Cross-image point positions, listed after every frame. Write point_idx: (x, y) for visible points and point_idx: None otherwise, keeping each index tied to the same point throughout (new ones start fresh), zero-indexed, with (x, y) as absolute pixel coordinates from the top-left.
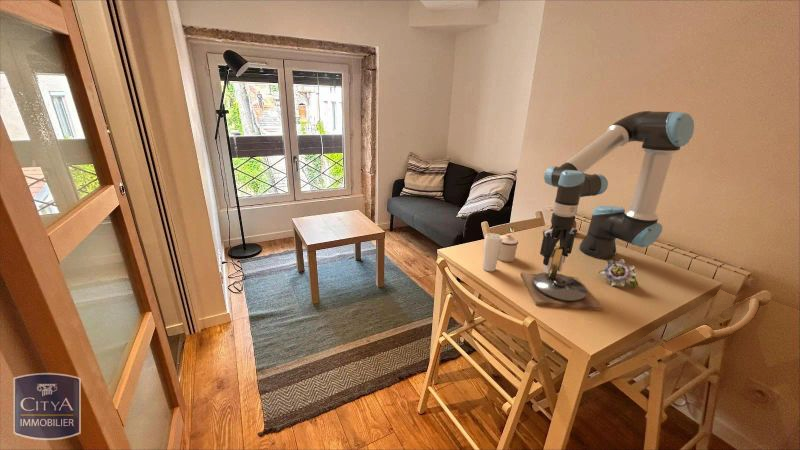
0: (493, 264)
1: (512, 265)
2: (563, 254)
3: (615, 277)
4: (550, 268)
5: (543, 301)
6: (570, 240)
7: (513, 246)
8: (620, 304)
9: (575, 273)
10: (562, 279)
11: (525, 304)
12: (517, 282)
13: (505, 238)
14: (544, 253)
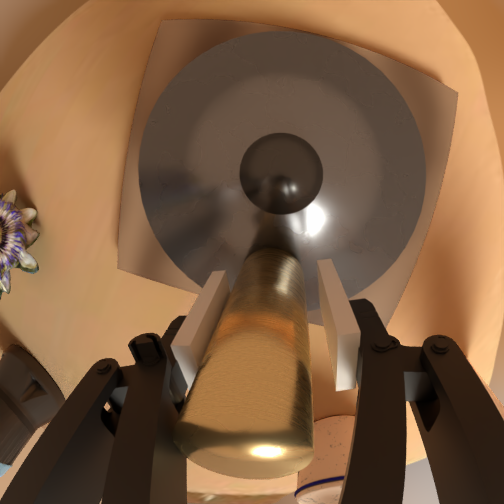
0: None
1: (346, 396)
2: (171, 368)
3: (8, 220)
4: (300, 290)
5: (430, 81)
6: (57, 483)
7: (338, 471)
8: (73, 85)
9: (108, 310)
10: (222, 227)
11: (478, 114)
12: (425, 277)
13: None
14: (464, 366)
